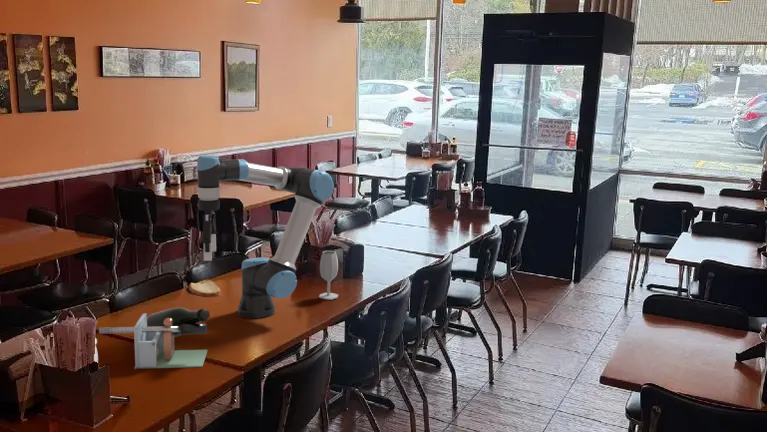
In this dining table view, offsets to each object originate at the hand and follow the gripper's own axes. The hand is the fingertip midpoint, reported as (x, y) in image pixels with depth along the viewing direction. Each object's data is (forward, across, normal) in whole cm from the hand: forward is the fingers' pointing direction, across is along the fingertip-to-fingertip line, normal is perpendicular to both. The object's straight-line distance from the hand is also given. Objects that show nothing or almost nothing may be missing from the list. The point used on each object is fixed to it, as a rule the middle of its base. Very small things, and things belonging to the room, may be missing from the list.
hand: (210, 255), depth 250 cm
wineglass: (+32, -47, +46) cm, 73 cm away
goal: (+32, +20, -18) cm, 41 cm away
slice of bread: (+32, -60, -9) cm, 69 cm away
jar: (+32, +40, -35) cm, 62 cm away
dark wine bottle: (+27, 0, -20) cm, 34 cm away
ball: (+29, +20, -18) cm, 39 cm away
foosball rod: (+30, +20, -17) cm, 40 cm away
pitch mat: (+32, +20, -11) cm, 39 cm away
